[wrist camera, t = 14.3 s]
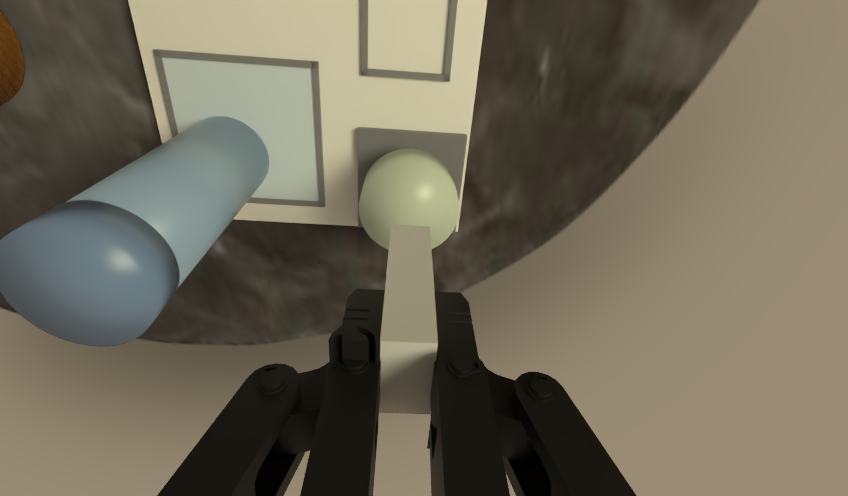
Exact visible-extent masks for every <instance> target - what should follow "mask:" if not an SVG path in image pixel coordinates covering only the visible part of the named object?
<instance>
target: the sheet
mask: <svg viewBox="0 0 848 496" xmlns="http://www.w3.org/2000/svg"><path fill="white" fill-rule="evenodd" d="M128 2H129V7H130V11H131V15H132V19H133V23H134V28H135V32H136V36H137V40H138V44H139V49H140V53H141V57H142V61H143V65H144V70H145V74H146V78H147V82H148V86H149V91H150V95H151V99H152V103H153V108H154V112H155V116H156V120H157V124H158V129H159V133H160V137H161V141H162V144H163V143H165V142H167V141H168V140H170V139H172V138H173V137H175V136H177V135H178V134H180V133H182V132H183V131H185V130H187V129H188V128H190V127H192V126H193V125H195V124H197V123H198V122H200V121H202V120H204V119H206V118H209V117H214V116H225V117H230V118H234V119H237V120H239V121H241V122H243V123H245V124H246V125H248V126H249V127H250V128H252V129H253V130H254V131H255V132H256V133H257V134H258V135H259V137H260V138H261V139H262V141H263V143H264V144H265V147H266V149H267V152H268V156H269V170H268V173H267V176H266V178H265V179H264V181H263V182H262V183H261V185H260V186H259V187H258V188H257V190H256V191H255V192H254V193H253V195H252V196H251V197H250V198H249V200H248V201H247V202H246V203H245V205H244V206H243V207H242V208H241V210H240V211H239V212H238V213H237V215H236V216H235V217H234V220H252V221H270V222H289V223H307V224H326V225H344V226H358V227H362V228H364V227H363V225H362V223H361V220H360V216H359V200H360V195H361V192H362V188H363V184H364V180H365V177H366V175H367V173H368V171H369V169H370V168H371V167H372V165H373V164H374V163H375V162H376V161H377V160H378V159H380V158H381V157H382V156H384V155H386V154H388V153H390V152H392V151H396V150H399V149H419V150H423V151H426V152H428V153H431V154H433V155H434V156H436V157H437V158H439V159H440V160H441V161H442V162H443V163H444V164H445V165H446V166H447V167H448V169H449V170H450V172H451V174H452V176H453V178H454V181H455V186H456V190H457V195H458V199H459V207H460V209H461V202H462V194H463V186H464V178H465V170H466V162H467V154H468V147H469V139H470V131H471V123H472V115H473V107H474V100H475V92H476V84H477V76H478V68H479V60H480V52H481V45H482V37H483V29H484V21H485V13H486V5H487V0H128ZM460 209H459V217H460ZM459 217H458V221H457V224H456V226H455V228H454V230H453V232H458V225H459Z"/></svg>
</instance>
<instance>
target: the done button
mask: <svg viewBox="0 0 848 496" xmlns="http://www.w3.org/2000/svg"><path fill="white" fill-rule="evenodd" d="M459 209H460V207H459V199H458V195H457V190H456V186H455V181H454V178H453V176H452V174H451V172H450V170H449V169H448V167H447V166H446V165H445V164H444V163H443V162H442V161H441V160H440V159H439V158H437V157H436V156H434V155H433V154H431V153H428V152H426V151H423V150H419V149H399V150H396V151H392V152H390V153H388V154H386V155H384V156H382V157H381V158H380V159H378V160H377V161H376V162H375V163H374V164H373V165H372V167H371V168H370V169H369V171H368V173H367V175H366V177H365V180H364V184H363V188H362V192H361V195H360V200H359V216H360V220H361V223H362V225H363V227H364V229H365V231H366V232H367V234H368V235H369V236H370V237H371V238H372V239H373V240H374V241H375V242H376V243H377V244H379V245H381V246H382V247H384V248H386V249H388V250H389V243H390V233H391V225H409V226H427V227H430V237H431V249H433V248H435V247H437V246H438V245H440V244H441V243H443V242H444V241H445V240H446V239H447V238H448V237H449V236H450V234H451V233H452V232H453V230H454V228H455V226H456V224H457V221H458V217H459Z"/></svg>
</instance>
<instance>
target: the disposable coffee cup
mask: <svg viewBox="0 0 848 496" xmlns="http://www.w3.org/2000/svg"><path fill="white" fill-rule="evenodd" d="M24 69H25V68H24V59H23V53H22V50H21V47H20V43H19V41H18V39H17V36H16V34H15V32H14V30H13V28H12V26H11V25H10V24H9V22H8V21H7V19H6V18H5V16H4V15H3V13H2V12H1V11H0V104H2V103H5V102H6V101H8V100H9V99H11V98H13V96H14V95H15V94H16V92H17V91H18V90H19V88H20V86H21V84H22V82H23V77H24Z"/></svg>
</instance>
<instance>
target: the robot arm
mask: <svg viewBox="0 0 848 496" xmlns="http://www.w3.org/2000/svg"><path fill="white" fill-rule="evenodd" d="M329 355H330V362H329V363H327V364H326V365H324V366H323V367H321V368H319V369H315V370H312V371H308V372H303V373H299V374H298V373H297V371H296V370H295V369H294V368H293V367H290V366H288V365H285V364H272V365H267V366H263V367H262V368H259V369H257V370H256V371H254V372H253V373H252V374H251V375H250V376H249V377H248V378H247V379H246V381H245V382H244V383H243V384H242V386H241V387H240V388H239V390H238V391H237V392H236V394H235V395H234V396H233V398H232V399H231V400H230V401H229V403H228V404H227V405H226V407H225V408H224V409H223V411H222V412H221V413H220V415H219V416H218V417H217V418H216V420H215V421H214V422H213V424H212V425H211V426H210V428H209V429H208V430H207V431H206V433H205V434H204V435H203V437H202V438H201V439H200V441H199V442H198V444H197V445H196V446H195V447H194V449H193V450H192V451H191V452H190V454H189V455H188V456H187V458H186V459H185V460H184V462H183V463H182V464H181V466H180V467H179V468H178V469H177V471H176V472H175V473H174V475H173V476H172V477H171V478H170V480H169V481H168V482H167V484H166V485H165V486H164V488H163V489H162V490H161V492H160V493H159V494H158V495H157V496H283V495H284V493H285V491H286V489H287V487H288V485H289V484H290V482H291V479H292V478H293V476H294V474H295V472H296V470H297V468H298V466H299V464H300V462H301V460H302V458H303V456H304V453H305V452H306V451H309V450H310V455H309V459H308V463H307V468H306V473H305V477H304V482H303V486H302V490H301V495H300V496H373V486H374V473H375V460H376V448H377V435H378V415H379V412H380V413H411V414H413V413H414V414H430V408H431V422H430V431H429V438H428V448H430V462H431V493H432V496H510V494H509V488H508V483H507V479H506V474H507V476H508V478H509V480H510V483H511V485H512V487H513V489H514V492H515V494H516V496H636V495H635V493H634V492H633V490H632V489H631V487H630V486H629V484H628V483H627V482H626V480H625V478H624V477H623V475H622V474H621V472H620V471H619V469H618V468H617V466H616V465H615V463H614V462H613V461H612V459H611V458H610V456H609V455H608V453H607V452H606V450H605V449H604V447H603V446H602V444H601V443H600V441H599V440H598V438H597V437H596V435H595V434H594V432H593V431H592V430H591V428H590V427H589V425H588V424H587V422H586V421H585V419H584V418H583V416H582V415H581V413H580V412H579V410H578V409H577V407H576V406H575V405H574V403H573V402H572V400H571V399H570V397H569V396H568V394H567V393H566V391H565V390H564V388H563V387H562V386H561V385H560V384H559V383H558V382H557V381H556V380H555V379H553V378H552V377H550V376H548V375H546V374H543V373H539V372H527V373H524V374H522V375H521V376H519V377H518V378H517V379H516V381H515V380H512V379H508V378H505V377H502V376H499V375H497V374H494V373H493V372H491V371H489V370H488V369H487V368H486V367H485V366H484V364H483V362H482V361H481V360H480V359H479V357H478V353H477V347H476V341H475V336H474V331H473V325H472V319H471V315H470V308H469V303H468V301H467V300H466V299H465V298H464V296H463V295H462V294H461V293H454V292H434V279H433V265H432V251H431V237H430V227H427V226H409V225H391V233H390V243H389V254H388V264H387V274H386V285H385V290H368V289H356V290H355V291H354V292H353V293H352V294H351V295H350V296H349V298H348V301H347V305H346V311H345V315H344V319H343V324H342V327H341V328H338V329H337V330H336V331H335V332H333V333H332V335H331V337H330V338H329ZM505 471H506V473H505Z"/></svg>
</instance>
